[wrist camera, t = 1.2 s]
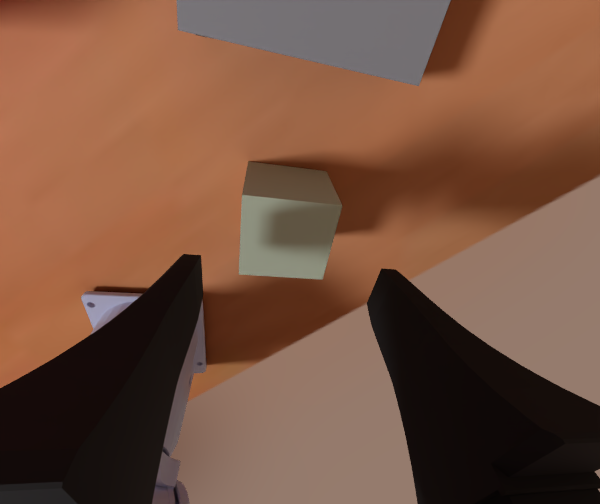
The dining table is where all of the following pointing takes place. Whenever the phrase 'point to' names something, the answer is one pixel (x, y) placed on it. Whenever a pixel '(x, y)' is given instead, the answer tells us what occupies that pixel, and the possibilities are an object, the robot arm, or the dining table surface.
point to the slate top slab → (327, 31)
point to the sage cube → (287, 221)
